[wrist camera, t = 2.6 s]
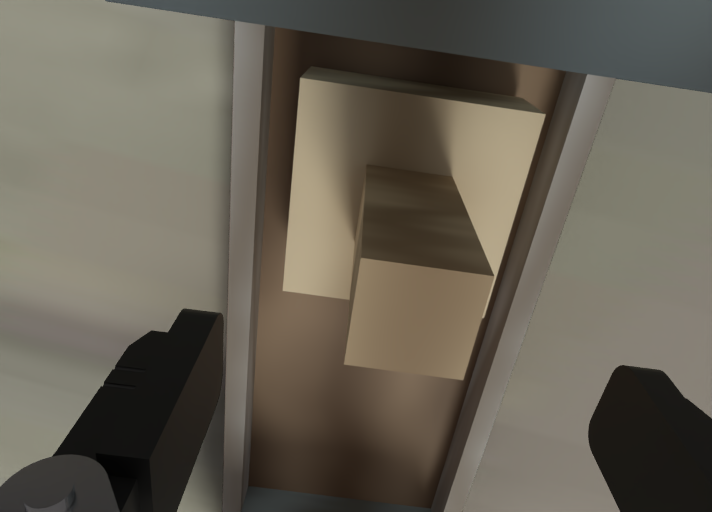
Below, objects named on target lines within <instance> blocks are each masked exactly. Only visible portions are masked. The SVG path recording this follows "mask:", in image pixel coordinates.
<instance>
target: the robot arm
mask: <svg viewBox="0 0 712 512" xmlns="http://www.w3.org/2000/svg"><path fill="white" fill-rule="evenodd" d="M223 328H224V321H223V315H222V313H215V312H207V311H200V310H192V309H183V310H182V311H181V312H180V314H179V315H178V317H177V319H176V320H175V322H174V324H173V325H172V327H171V328H170V330H169V332H168V333H167V332H159V331H150V332H149V333H147V334H146V335H144V336H143V337H141V338H140V339H138V340H137V341H135V342H134V343H132V344H131V345H129V346H128V348H127V349H126V351H125V352H124V354H123V355H122V357H121V358H120V360H119V361H118V362H117V364H116V365H115V369H114V370H112V371H111V373H110V374H109V376H108V377H107V378H106V380H105V381H104V385H103V387H102V386H101V387H100V389H99V390H98V391H97V393H96V394H95V396H94V397H93V399H92V400H91V402H90V403H89V405H88V406H87V407H86V409H85V410H84V412H83V413H82V415H81V416H80V418H79V419H78V421H77V422H76V423H75V425H74V426H73V428H72V429H71V431H70V432H69V434H68V435H67V436H66V438H65V439H64V441H63V442H62V444H61V445H60V447H59V448H58V450H57V451H56V452H55V454H54V455H53V456H52V457H49V458H45V459H42V460H40V461H37V462H35V463H32V464H30V465H28V466H26V467H25V468H23V469H21V470H20V471H18V472H17V473H15V474H14V475H13V476H11V477H10V478H9V479H8V480H7V481H5V483H4V484H3V485H2V486H1V487H0V512H177V509H178V506H179V504H180V501H181V499H182V496H183V493H184V491H185V488H186V485H187V483H188V480H189V477H190V475H191V472H192V469H193V467H194V464H195V461H196V459H197V456H198V453H199V451H200V448H201V445H202V443H203V440H204V437H205V435H206V432H207V429H208V427H209V424H210V421H211V419H212V416H213V414H214V411H215V408H216V405H217V402H218V399H219V395H220V390H221V384H222V376H223ZM588 438H589V445H590V448H591V451H592V454H593V456H594V458H595V460H596V462H597V464H598V466H599V468H600V470H601V472H602V474H603V477H604V479H605V481H606V483H607V485H608V487H609V489H610V491H611V493H612V495H613V497H614V499H615V501H616V504H617V506H618V508H619V510H620V512H712V419H711V418H710V417H709V416H708V415H707V414H705V413H704V412H703V411H702V410H700V409H699V408H698V407H697V406H695V405H694V404H693V403H692V402H690V401H689V400H688V399H685V398H684V396H683V395H682V394H681V393H680V391H679V390H678V389H677V387H676V386H675V385H674V384H673V382H672V381H671V380H670V378H669V377H668V376H667V375H666V374H665V373H664V372H663V371H661V370H656V369H648V368H640V367H633V366H625V365H622V366H619V367H617V368H616V369H615V370H614V372H613V373H612V375H611V377H610V380H609V382H608V384H607V386H606V388H605V390H604V392H603V394H602V397H601V399H600V401H599V403H598V405H597V407H596V409H595V411H594V414H593V416H592V418H591V420H590V424H589V431H588Z"/></svg>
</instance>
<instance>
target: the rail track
mask: <svg viewBox="0 0 712 512" xmlns="http://www.w3.org/2000/svg"><path fill="white" fill-rule="evenodd" d="M105 1H108V2H114V3H121V4H128V5H134V6H141V7H147V8H154V9H161V10H167V11H174V12H180V13H187V14H194V15H200V16H207V17H213V18H220V19H227V20H233V21H235V26H234V66H233V105H232V145H231V184H230V224H229V264H228V303H227V343H226V383H225V422H224V462H223V502H222V512H463V509H464V506H465V504H466V501H467V498H468V495H469V492H470V489H471V487H472V484H473V481H474V478H475V475H476V473H477V470H478V467H479V464H480V461H481V458H482V456H483V453H484V450H485V447H486V444H487V441H488V439H489V436H490V433H491V430H492V427H493V425H494V422H495V419H496V416H497V413H498V410H499V408H500V405H501V402H502V399H503V396H504V393H505V391H506V388H507V385H508V382H509V379H510V377H511V374H512V371H513V368H514V365H515V362H516V360H517V357H518V354H519V351H520V348H521V346H522V343H523V340H524V337H525V334H526V331H527V329H528V326H529V323H530V320H531V317H532V314H533V312H534V309H535V306H536V303H537V300H538V298H539V295H540V292H541V289H542V286H543V283H544V281H545V278H546V275H547V272H548V269H549V267H550V264H551V261H552V258H553V255H554V252H555V250H556V247H557V244H558V241H559V238H560V235H561V233H562V230H563V227H564V224H565V221H566V219H567V216H568V213H569V210H570V207H571V204H572V202H573V199H574V196H575V193H576V190H577V187H578V185H579V182H580V179H581V176H582V173H583V171H584V168H585V165H586V162H587V159H588V156H589V154H590V151H591V148H592V145H593V142H594V140H595V137H596V134H597V131H598V128H599V125H600V123H601V120H602V117H603V114H604V111H605V108H606V106H607V103H608V100H609V97H610V94H611V92H612V89H613V86H614V83H615V80H616V79H622V80H629V81H636V82H642V83H649V84H655V85H662V86H669V87H675V88H682V89H688V90H695V91H702V92H708V93H712V0H105ZM311 66H313V67H320V68H326V69H333V70H340V71H346V72H353V73H360V74H367V75H373V76H380V77H387V78H393V79H400V80H407V81H413V82H420V83H427V84H433V85H440V86H447V87H453V88H460V89H467V90H473V91H480V92H487V93H494V94H500V95H507V96H514V97H520V98H523V99H525V100H526V101H528V102H529V103H530V104H532V105H533V106H535V107H536V108H538V109H539V110H540V111H542V112H543V113H545V114H546V115H545V119H544V122H543V125H542V129H541V132H540V135H539V139H538V142H537V145H536V148H535V152H534V155H533V158H532V162H531V165H530V168H529V172H528V175H527V178H526V181H525V185H524V188H523V191H522V195H521V198H520V201H519V204H518V208H517V211H516V214H515V218H514V221H513V224H512V228H511V231H510V234H509V237H508V241H507V244H506V247H505V251H504V254H503V257H502V261H501V264H500V267H499V270H498V274H497V277H496V280H495V284H494V287H493V290H492V294H491V297H490V300H489V303H488V307H487V310H486V313H485V317H484V318H482V320H481V323H480V326H479V330H478V333H477V336H476V340H475V343H474V346H473V350H472V353H471V356H470V359H469V363H468V366H467V369H466V373H465V376H464V379H463V380H458V379H450V378H442V377H435V376H427V375H420V374H412V373H405V372H397V371H389V370H382V369H374V368H367V367H359V366H352V365H344V357H345V346H346V334H347V323H348V312H349V301H350V300H347V299H339V298H332V297H325V296H317V295H310V294H303V293H295V292H288V291H283V280H284V268H285V256H286V244H287V232H288V220H289V208H290V196H291V184H292V172H293V159H294V147H295V135H296V123H297V111H298V99H299V87H300V78H301V76H302V75H303V74H304V73H305V72H306V71H307V70H308V69H309V68H310V67H311Z"/></svg>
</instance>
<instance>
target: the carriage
mask: <svg viewBox="0 0 712 512" xmlns="http://www.w3.org/2000/svg"><path fill="white" fill-rule="evenodd" d="M545 115H546V114H545V113H543V112H542V111H540V110H539V109H538V108H536V107H535V106H533V105H532V104H530V103H529V102H528V101H526V100H525V99H523V98H520V97H514V96H507V95H500V94H494V93H487V92H480V91H473V90H467V89H460V88H453V87H447V86H440V85H433V84H427V83H420V82H413V81H407V80H400V79H393V78H387V77H380V76H373V75H367V74H360V73H353V72H346V71H340V70H333V69H326V68H320V67H313V66H311V67H310V68H309V69H308V70H307V71H306V72H305V73H304V74H303V75H302V76H301V78H300V87H299V99H298V111H297V123H296V135H295V147H294V159H293V172H292V184H291V196H290V208H289V220H288V232H287V244H286V256H285V268H284V280H283V291H288V292H295V293H303V294H310V295H317V296H325V297H332V298H339V299H347V300H350V301H349V312H348V323H347V334H346V346H345V357H344V365H352V366H359V367H367V368H374V369H382V370H389V371H397V372H405V373H412V374H420V375H427V376H435V377H442V378H450V379H458V380H463V379H464V376H465V373H466V369H467V366H468V363H469V359H470V356H471V353H472V350H473V346H474V343H475V340H476V336H477V333H478V330H479V326H480V323H481V320H482V318H484V317H485V313H486V310H487V307H488V303H489V300H490V297H491V294H492V290H493V287H494V284H495V280H496V277H497V274H498V270H499V267H500V264H501V261H502V257H503V254H504V251H505V247H506V244H507V241H508V237H509V234H510V231H511V228H512V224H513V221H514V218H515V214H516V211H517V208H518V204H519V201H520V198H521V195H522V191H523V188H524V185H525V181H526V178H527V175H528V172H529V168H530V165H531V162H532V158H533V155H534V152H535V148H536V145H537V142H538V139H539V135H540V132H541V129H542V125H543V122H544V119H545Z"/></svg>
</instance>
